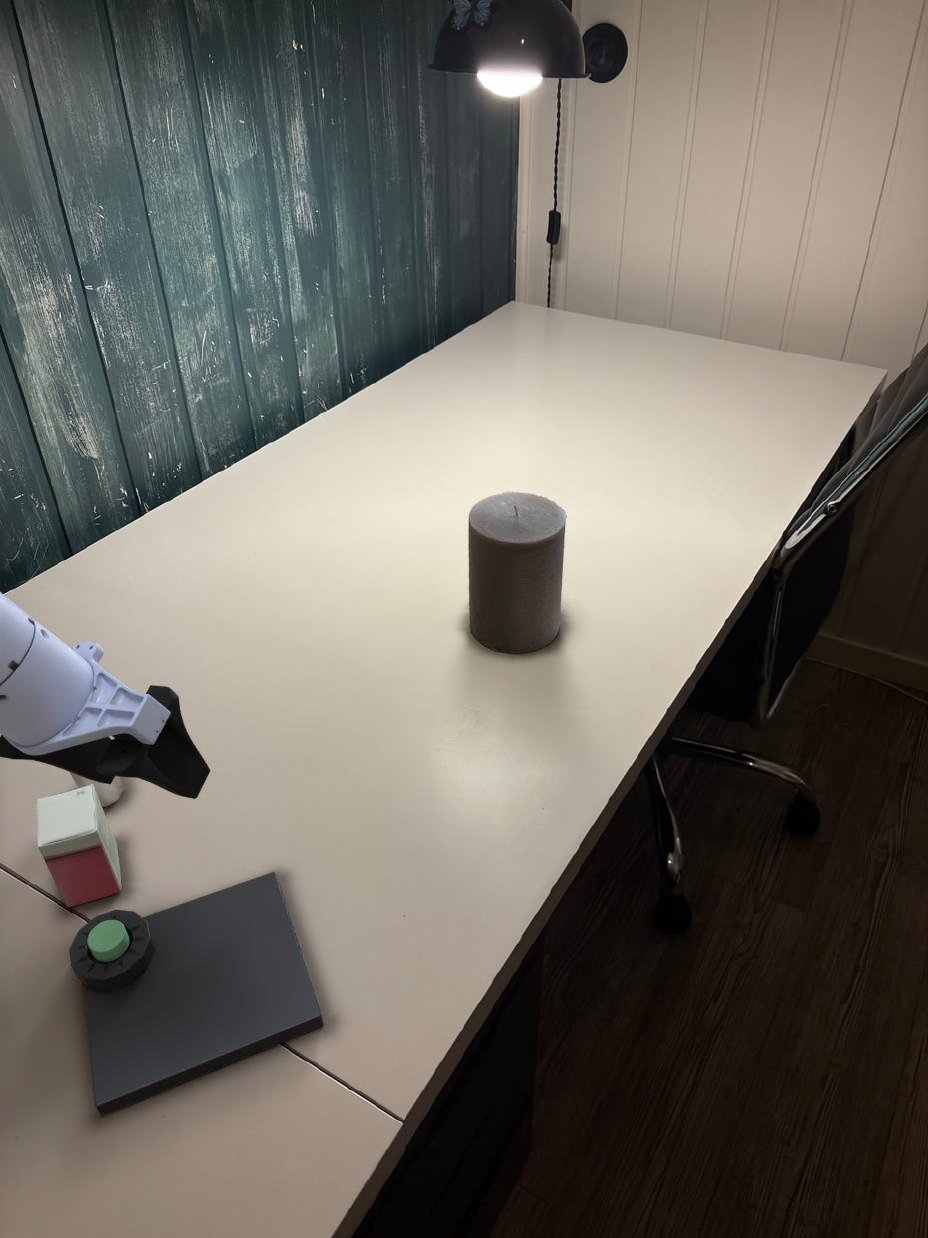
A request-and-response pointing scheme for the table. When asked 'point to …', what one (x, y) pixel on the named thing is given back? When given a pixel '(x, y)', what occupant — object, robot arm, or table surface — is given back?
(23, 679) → the robot arm
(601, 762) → the table surface
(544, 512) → the pillar candle
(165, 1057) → the scale
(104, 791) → the milkshake
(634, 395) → the table surface
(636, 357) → the table surface
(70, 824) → the small box
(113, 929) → the button
